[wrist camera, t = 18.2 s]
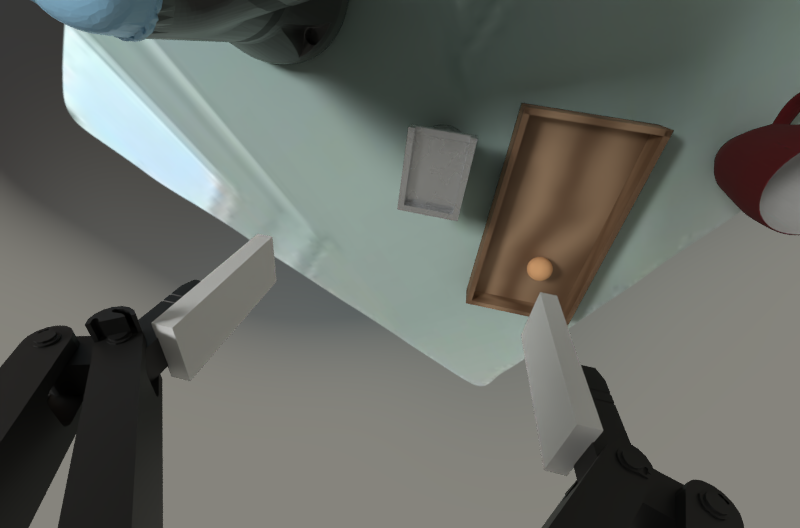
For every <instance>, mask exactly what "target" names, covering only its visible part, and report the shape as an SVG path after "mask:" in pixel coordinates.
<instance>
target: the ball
mask: <svg viewBox="0 0 800 528" xmlns="http://www.w3.org/2000/svg"><path fill="white" fill-rule="evenodd" d="M552 272H553V266H552V264H551V262H550V261H549V260H548V259H546V258H544V257H536V258H533V259H532V260H531V261H530V262H529V263H528V265H527V273H528V275H529V276H530V277H531V278H532V279H534V280H536V281H543V280H546V279H548V278H549V277H550V276H551V274H552Z"/></svg>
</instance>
